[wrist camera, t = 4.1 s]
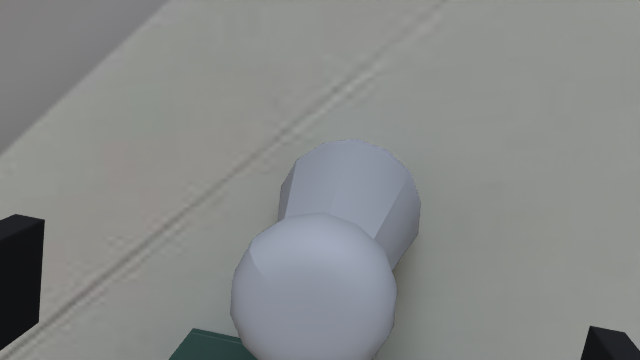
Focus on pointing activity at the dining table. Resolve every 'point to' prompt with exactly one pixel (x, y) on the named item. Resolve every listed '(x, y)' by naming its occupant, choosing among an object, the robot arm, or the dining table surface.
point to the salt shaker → (328, 257)
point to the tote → (211, 347)
